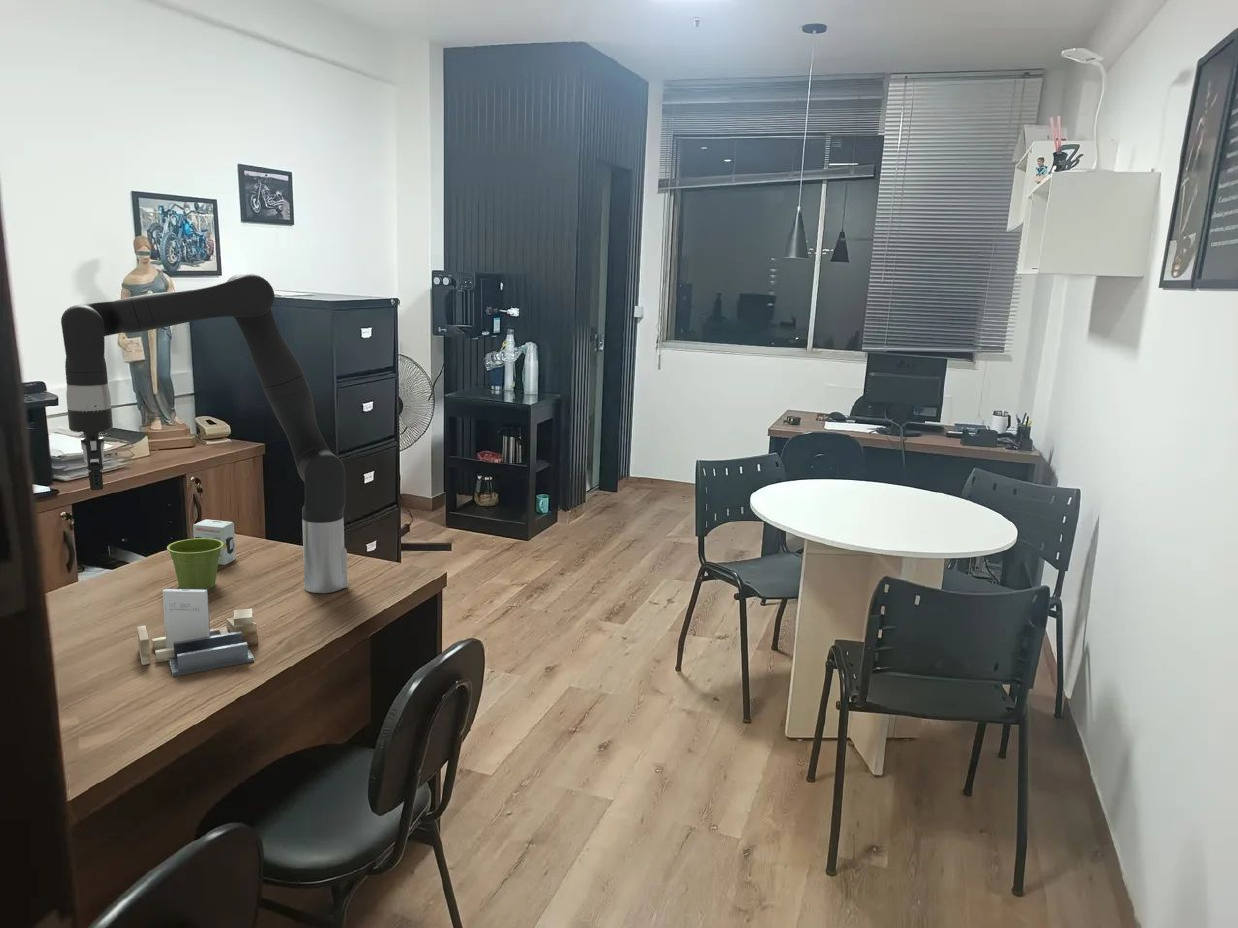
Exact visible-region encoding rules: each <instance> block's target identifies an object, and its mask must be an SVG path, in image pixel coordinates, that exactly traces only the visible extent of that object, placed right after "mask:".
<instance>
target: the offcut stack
mask: <svg viewBox="0 0 1238 928" xmlns="http://www.w3.org/2000/svg"><path fill="white" fill-rule="evenodd" d="M226 628H227V630H228V633H233V632H239V631H241V632H242V643H244V642H247V645H248V647H250V646H256V645H259V634H258V633H257V632H258V629H257V628H258V627H257V623H256V622H255V621H254V620H253V607H251V608H243V609H234V610H233V617H228V618H226Z"/></svg>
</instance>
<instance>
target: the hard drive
mask: <svg viewBox="0 0 1238 928" xmlns="http://www.w3.org/2000/svg"><path fill="white" fill-rule="evenodd" d="M208 590H209V589H207V590H206V589H180V588H164V589H163V590H162V591H161V592H162V604H163V605H162V606H163V618H164V619H163V621H164V623H163V624H164V634H165V635H164V637H166V648H172V647H174V646H173V642H179V641H185V640H191V639H197V638H203V637H209V636H210V629H211V626H210V625H211V624H210V613H209V608H210V607H209V596H208V595H209V592H208ZM166 648H165V649H166Z"/></svg>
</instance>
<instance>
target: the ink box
mask: <svg viewBox="0 0 1238 928" xmlns="http://www.w3.org/2000/svg"><path fill="white" fill-rule="evenodd" d="M192 528H193V529H192V530H193V539H196V538H209V539H217V540H220V541H222V542H223V543H224V545H223V547H222V548H221V552H220V556H219V560H218V565H222V566H225V565H228V564H229V563H231V562H233V561H235V560H236V542H235V541H236V539H235V538H236V537H235V523H234V522H233V521H227V520H226V521H225V520H218V519H217V520H216V519H215V520H214V519H209V518H208V519H203V520H201V521H199V522H196V523H193V525H192Z"/></svg>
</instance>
